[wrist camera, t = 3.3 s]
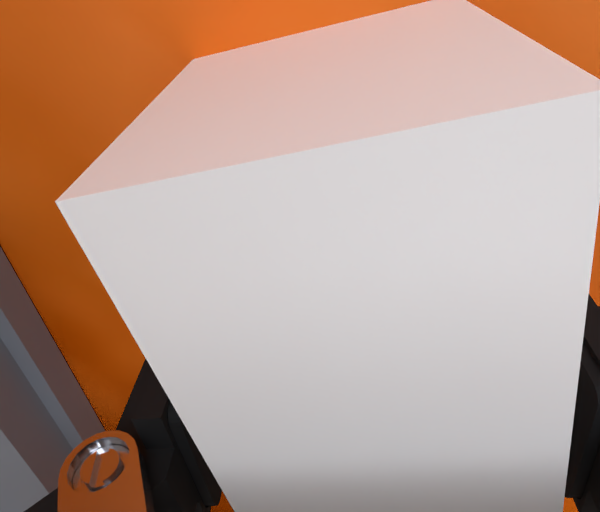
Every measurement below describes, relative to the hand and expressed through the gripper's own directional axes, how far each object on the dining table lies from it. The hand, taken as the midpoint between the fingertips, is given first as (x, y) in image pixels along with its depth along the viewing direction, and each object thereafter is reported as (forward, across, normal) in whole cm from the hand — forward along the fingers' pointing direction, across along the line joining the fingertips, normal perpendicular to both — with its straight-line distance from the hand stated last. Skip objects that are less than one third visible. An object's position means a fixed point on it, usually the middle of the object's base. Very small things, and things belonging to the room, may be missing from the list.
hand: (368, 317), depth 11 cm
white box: (+1, 0, 0) cm, 1 cm away
